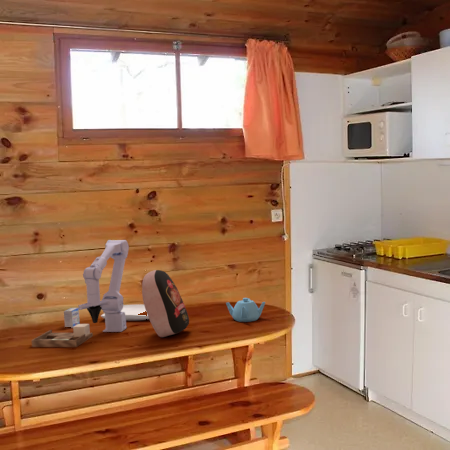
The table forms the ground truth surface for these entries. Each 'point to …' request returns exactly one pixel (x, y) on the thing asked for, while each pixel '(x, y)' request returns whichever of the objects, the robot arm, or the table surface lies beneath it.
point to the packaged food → (163, 304)
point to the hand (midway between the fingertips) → (95, 322)
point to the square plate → (133, 312)
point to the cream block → (81, 330)
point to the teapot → (245, 310)
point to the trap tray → (59, 340)
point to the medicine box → (71, 317)
